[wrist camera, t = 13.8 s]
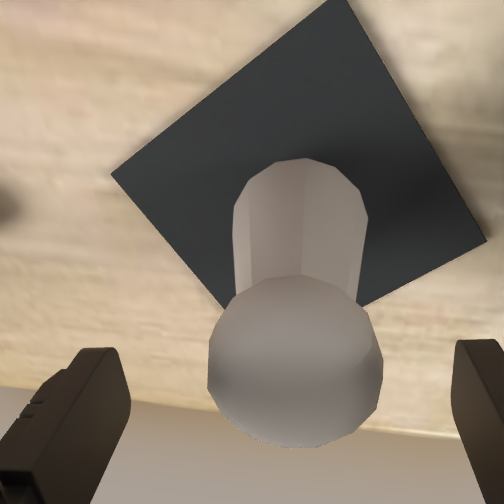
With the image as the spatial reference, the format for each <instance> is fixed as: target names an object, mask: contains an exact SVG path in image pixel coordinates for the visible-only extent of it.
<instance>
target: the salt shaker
mask: <svg viewBox="0 0 504 504" xmlns="http://www.w3.org/2000/svg"><path fill="white" fill-rule="evenodd" d="M367 223H368V216H367V213H366V210H365V207H364V204H363V200H362V197H361V194H360V191H359V190H358V189H357V188H356V187H355V186H354V185H353V184H352V183H351V182H350V181H349V180H348V179H347V178H346V177H345V176H344V175H343V174H342V173H341V172H340V171H339V170H338V169H337V168H336V167H333V166H330V165H327V164H324V163H321V162H318V161H315V160H311V159H308V158H301V159H294V160H287V161H279V162H275V163H274V164H272V165H271V166H269V167H267V168H266V169H264V170H263V171H261V172H260V173H258V174H257V175H255V176H254V177H252V178H251V179H250V180H249V181H248V182H247V184H246V186H245V187H244V189H243V191H242V193H241V194H240V196H239V198H238V200H237V202H236V203H235V205H234V214H233V232H232V237H233V252H234V268H235V284H236V296H235V297H234V298H232V300H231V301H230V303H229V304H228V306H227V308H226V309H225V311H224V312H223V314H222V316H221V317H220V319H219V321H218V322H217V324H216V325H215V328H214V330H213V332H212V335H211V337H210V340H209V358H208V385H207V389H208V391H209V393H210V394H211V396H212V398H213V400H214V401H215V403H216V405H217V407H218V408H219V410H220V412H221V414H222V415H223V417H225V418H226V419H227V420H229V421H230V422H231V423H233V424H234V425H235V426H236V427H238V428H239V429H240V430H242V431H243V432H244V433H246V434H247V435H248V436H250V437H251V438H253V439H255V440H259V441H262V442H266V443H269V444H273V445H276V446H280V447H283V448H312V447H320V446H322V445H324V444H327V443H329V442H332V441H334V440H336V439H339V438H341V437H344V436H346V435H348V434H351V433H353V432H354V431H355V430H356V429H357V428H358V427H359V426H360V425H361V424H362V423H363V422H364V421H365V420H366V419H367V418H368V417H369V416H370V415H371V414H372V413H373V412H374V411H375V410H376V408H377V403H378V398H379V394H380V389H381V385H382V380H383V357H382V354H381V351H380V348H379V345H378V342H377V339H376V336H375V333H374V330H373V327H372V324H371V321H370V318H369V315H368V313H367V312H366V311H365V310H364V309H363V308H362V307H361V306H360V305H358V304H357V303H356V296H357V289H358V282H359V275H360V268H361V261H362V254H363V247H364V241H365V235H366V229H367Z"/></svg>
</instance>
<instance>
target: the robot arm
mask: <svg viewBox="0 0 504 504" xmlns="http://www.w3.org/2000/svg"><path fill="white" fill-rule="evenodd" d="M451 407H452V413H453V417H454V421H455V424H456V426H457V429H458V432H459V434H460V437H461V440H462V442H463V444H464V447H465V450H466V453H467V455H468V458H469V461H470V463H471V466H472V469H473V471H474V474H475V476H476V479H477V482H478V484H479V487H480V490H481V492H482V495H483V498H484V500H485V503H486V504H504V351H503V350H502V348H501V346H500V345H499V343H498V342H497V341H496V340H495V339H478V340H458V341H457V343H456V346H455V354H454V365H453V375H452V385H451ZM130 410H131V398H130V393H129V389H128V386H127V382H126V379H125V375H124V372H123V368H122V365H121V361H120V358H119V355H118V352H117V350H116V349H115V348H113V347H105V348H83V349H81V350H80V351H79V352H78V354H77V355H76V357H75V358H74V359H73V361H72V362H71V364H70V365H69V366H68V368H67V369H61V370H60V371H58V372H57V373H56V374H55V375H53V376H52V377H51V378H50V379H48V380H47V381H46V382H44V383H43V384H42V385H41V387H40V388H39V389H38V391H37V392H36V393H35V395H34V396H33V398H32V399H31V400H30V404H27V406H26V407H25V408H24V410H23V411H22V412H21V414H20V417H19V418H18V419H16V420H15V422H14V423H13V424H12V426H11V427H10V428H9V430H8V431H7V433H6V434H5V435H4V436H3V438H2V439H1V441H0V504H90V502H91V500H92V498H93V496H94V494H95V492H96V489H97V487H98V485H99V483H100V481H101V478H102V476H103V474H104V472H105V470H106V468H107V465H108V463H109V461H110V459H111V456H112V454H113V452H114V450H115V448H116V446H117V444H118V441H119V439H120V437H121V435H122V433H123V430H124V428H125V426H126V424H127V422H128V419H129V415H130Z"/></svg>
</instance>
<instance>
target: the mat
mask: <svg viewBox="0 0 504 504" xmlns="http://www.w3.org/2000/svg"><path fill="white" fill-rule="evenodd" d="M301 158H308V159H311V160H315V161H318V162H321V163H324V164H327V165H330V166H333V167H336V168H337V169H338V170H339V171H340V172H341V173H342V174H343V175H344V176H345V177H346V178H347V179H348V180H349V181H350V182H351V183H352V184H353V185H354V186H355V187H356V188H357V189H358V190H359V191H360V194H361V197H362V200H363V204H364V207H365V210H366V213H367V216H368V223H367V229H366V235H365V241H364V247H363V254H362V261H361V268H360V275H359V282H358V289H357V296H356V303H357V304H358V305H360V306H361V307H363V306H365V305H367V304H369V303H371V302H373V301H375V300H377V299H379V298H381V297H382V296H384V295H386V294H388V293H390V292H392V291H394V290H396V289H398V288H400V287H402V286H403V285H405V284H407V283H409V282H411V281H413V280H415V279H417V278H419V277H421V276H422V275H424V274H426V273H428V272H430V271H432V270H434V269H436V268H438V267H440V266H442V265H443V264H445V263H447V262H449V261H451V260H453V259H455V258H457V257H459V256H461V255H463V254H464V253H466V252H468V251H470V250H472V249H474V248H476V247H478V246H480V245H482V244H483V243H485V242H487V240H486V238H485V237H484V235H483V233H482V231H481V230H480V228H479V226H478V225H477V223H476V221H475V220H474V218H473V216H472V214H471V213H470V211H469V209H468V208H467V206H466V204H465V202H464V201H463V199H462V197H461V196H460V194H459V192H458V190H457V189H456V187H455V185H454V184H453V182H452V180H451V178H450V177H449V175H448V173H447V172H446V170H445V168H444V166H443V165H442V163H441V161H440V160H439V158H438V156H437V154H436V153H435V151H434V149H433V148H432V146H431V144H430V142H429V141H428V139H427V137H426V136H425V134H424V132H423V130H422V129H421V127H420V125H419V124H418V122H417V120H416V118H415V117H414V115H413V113H412V112H411V110H410V108H409V106H408V105H407V103H406V101H405V100H404V98H403V96H402V94H401V93H400V91H399V89H398V88H397V86H396V84H395V82H394V81H393V79H392V77H391V76H390V74H389V72H388V70H387V69H386V67H385V65H384V64H383V62H382V60H381V59H380V57H379V55H378V53H377V52H376V50H375V48H374V47H373V45H372V43H371V41H370V40H369V38H368V36H367V35H366V33H365V31H364V29H363V28H362V26H361V24H360V23H359V21H358V19H357V17H356V16H355V14H354V12H353V11H352V9H351V7H350V5H349V4H348V2H347V0H327V1H326V2H325V3H323V4H322V5H321V6H320V7H318V8H317V9H316V10H315V11H313V12H312V13H311V14H310V15H308V16H307V17H306V18H305V19H303V20H302V21H301V22H300V23H298V24H297V25H296V26H295V27H293V28H292V29H291V30H290V31H288V32H287V33H286V34H285V35H283V36H282V37H281V38H280V39H278V40H277V41H276V42H275V43H273V44H272V45H271V46H270V47H268V48H267V49H266V50H265V51H263V52H262V53H261V54H260V55H258V56H257V57H256V58H255V59H253V60H252V61H251V62H250V63H248V64H247V65H246V66H245V67H243V68H242V69H241V70H240V71H238V72H237V73H236V74H235V75H233V76H232V77H231V78H230V79H228V80H227V81H226V82H225V83H223V84H222V85H221V86H220V87H218V88H217V89H216V90H215V91H213V92H212V93H211V94H210V95H208V96H207V97H206V98H205V99H203V100H202V101H201V102H200V103H198V104H197V105H196V106H195V107H193V108H192V109H191V110H190V111H188V112H187V113H186V114H185V115H183V116H182V117H181V118H180V119H178V120H177V121H176V122H175V123H173V124H172V125H171V126H170V127H168V128H167V129H166V130H165V131H163V132H162V133H161V134H160V135H158V136H157V137H156V138H155V139H153V140H152V141H151V142H150V143H148V144H147V145H146V146H145V147H143V148H142V149H141V150H140V151H138V152H137V153H136V154H135V155H133V156H132V157H131V158H130V159H128V160H127V161H126V162H125V163H123V164H122V165H121V166H120V167H118V168H117V169H116V170H115V171H113V172H112V173H111V176H112V177H113V178H114V179H115V180H116V182H117V183H118V184H119V185H120V186H121V187H122V189H123V190H124V191H125V192H126V193H127V195H128V196H129V197H130V198H131V199H132V200H133V202H134V203H135V204H136V205H137V206H138V208H139V209H140V210H141V211H142V212H143V214H144V215H145V216H146V217H147V218H148V219H149V221H150V222H151V223H152V224H153V225H154V227H155V228H156V229H157V230H158V231H159V232H160V234H161V235H162V236H163V237H164V238H165V240H166V241H167V242H168V243H169V244H170V245H171V247H172V248H173V249H174V250H175V251H176V253H177V254H178V255H179V256H180V257H181V258H182V260H183V261H184V262H185V263H186V264H187V266H188V267H189V268H190V269H191V270H192V271H193V273H194V274H195V275H196V276H197V277H198V279H199V280H200V281H201V282H202V283H203V285H204V286H205V287H206V288H207V289H208V290H209V292H210V293H211V294H212V295H213V296H214V298H215V299H216V300H217V301H218V302H219V303H220V305H221V306H222V307H223V308H224V309H226V308H227V306H228V304H229V303H230V301H231V300H232V298H234V297H235V296H236V284H235V268H234V252H233V237H232V232H233V214H234V205H235V203H236V202H237V200H238V198H239V196H240V194H241V193H242V191H243V189H244V187H245V186H246V184H247V182H248V181H249V180H250V179H251V178H252V177H254V176H255V175H257V174H258V173H260V172H261V171H263V170H264V169H266V168H267V167H269V166H271V165H272V164H274V163H275V162H279V161H287V160H294V159H301Z"/></svg>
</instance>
